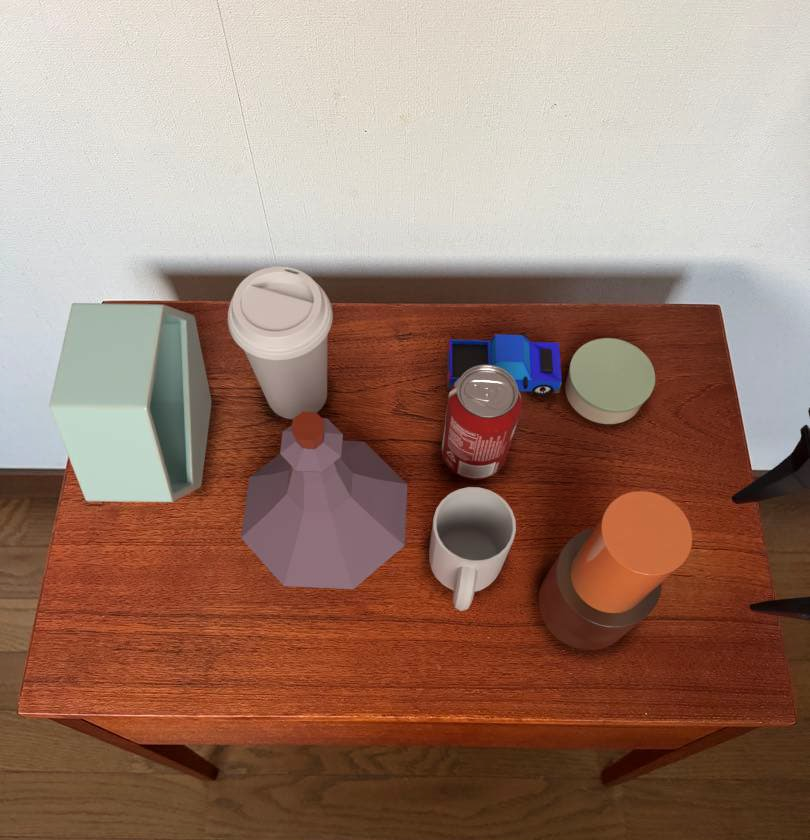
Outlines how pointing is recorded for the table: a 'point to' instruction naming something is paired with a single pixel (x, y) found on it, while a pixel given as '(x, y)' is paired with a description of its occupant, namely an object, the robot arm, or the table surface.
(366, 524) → the flask
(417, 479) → the table surface
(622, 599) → the orange cylinder
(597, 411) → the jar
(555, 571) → the metal cylinder
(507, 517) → the cup
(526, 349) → the toy car
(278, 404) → the coffee cup
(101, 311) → the planter
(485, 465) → the soda can
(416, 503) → the table surface
